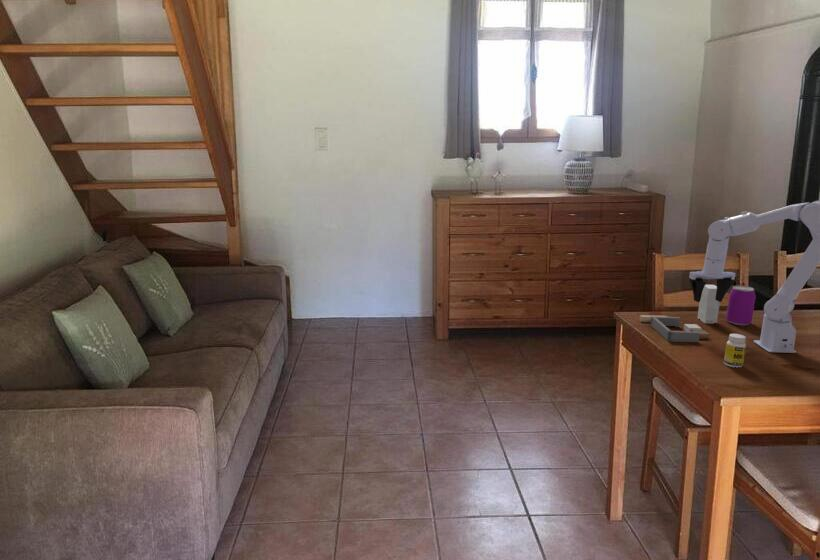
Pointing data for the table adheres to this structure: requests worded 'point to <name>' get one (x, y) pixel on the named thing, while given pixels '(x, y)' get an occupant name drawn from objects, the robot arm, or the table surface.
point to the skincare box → (708, 305)
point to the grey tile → (691, 327)
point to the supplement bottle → (735, 350)
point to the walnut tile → (701, 333)
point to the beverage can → (741, 305)
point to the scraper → (648, 317)
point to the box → (673, 336)
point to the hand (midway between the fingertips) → (707, 301)
